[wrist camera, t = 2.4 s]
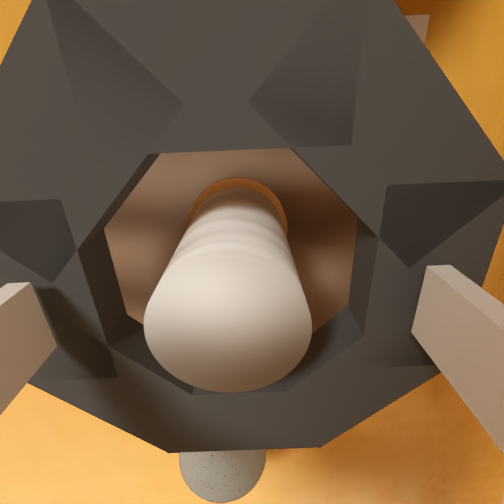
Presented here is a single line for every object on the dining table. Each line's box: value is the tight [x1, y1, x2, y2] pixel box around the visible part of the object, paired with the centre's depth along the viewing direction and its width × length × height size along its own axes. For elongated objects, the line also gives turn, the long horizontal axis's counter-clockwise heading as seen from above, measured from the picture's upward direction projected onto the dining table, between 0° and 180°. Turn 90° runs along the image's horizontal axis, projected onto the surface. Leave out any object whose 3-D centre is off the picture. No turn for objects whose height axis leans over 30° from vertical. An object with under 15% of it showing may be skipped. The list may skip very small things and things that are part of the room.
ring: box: [0, 0, 504, 453], centre depth 11 cm, size 18×18×2 cm
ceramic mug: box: [179, 449, 266, 503], centre depth 25 cm, size 11×8×8 cm
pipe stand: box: [104, 14, 430, 392], centre depth 15 cm, size 20×20×13 cm
